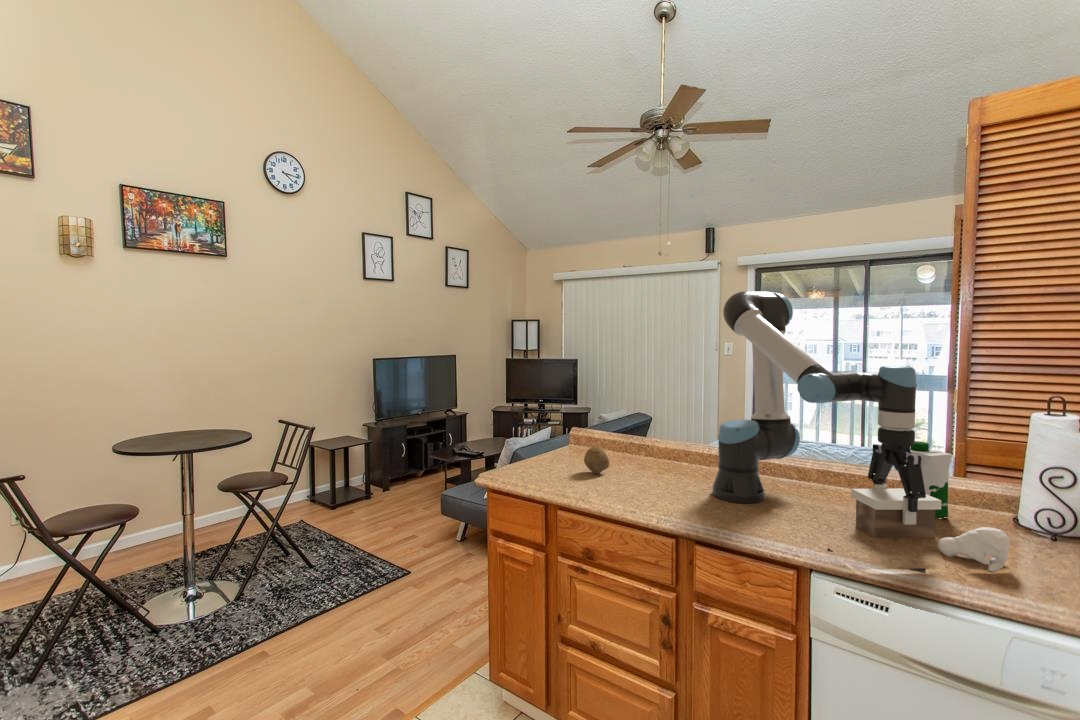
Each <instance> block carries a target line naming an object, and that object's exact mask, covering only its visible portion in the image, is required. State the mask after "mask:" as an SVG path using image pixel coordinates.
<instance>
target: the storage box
mask: <svg viewBox="0 0 1080 720" xmlns="http://www.w3.org/2000/svg"><path fill="white" fill-rule="evenodd" d="M855 500H856V499H855ZM855 503H856V505H855V508H856V509H855V510H856V511H855V526H856V527H858V528H859V529H861V530H863V531H864V532H866V533H867V534H869V535H871V536H873V537H874V538H876V539H912V538H913V539H919V538H920V539H923V538H924V539H925V538H926V539H927V538H928V539H932V538H934V539H935V536H936V535H935V529H936V528H935V527H936V525H935V524H936V518H935V509H932V510H917V512H916V524H911V525H905V524H903V510H876V509H874V508H872V507H870V506H868V505H866V504H864V503H862V502H860V501H858V500H856V501H855Z"/></svg>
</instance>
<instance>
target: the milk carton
mask: <svg viewBox="0 0 1080 720" xmlns="http://www.w3.org/2000/svg"><path fill="white" fill-rule="evenodd" d="M929 446H930V444H929V443H928V442H926V441H919V440H918V441H916V440H915V444H914V445H912V446H911V447H910V451H911V454H913V455H920V456H921V470H922V476H923V482H924V488H925V493H926V494H927V495H929V496H932V497H934V498H937V499H939V500H941V509H935V519H938V518H944V517H948V518H949V474H950V473H949V471H950V465H951V460H952V456H953V453H947V452H945V451H941V450H937V449H930V447H929Z"/></svg>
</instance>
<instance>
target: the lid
mask: <svg viewBox="0 0 1080 720" xmlns="http://www.w3.org/2000/svg"><path fill="white" fill-rule="evenodd" d="M850 491H851V498H852V499H855V500H858V501H860V502H862V503H864V504H866V505H868V506H870V507H872V508H874V509H876V510H903V496H906V494H905V491H904V488H903V487H902V488H899V487H898V488H897V487H896V488H887V489H874V488H851V490H850ZM919 493H920V492H919ZM932 509H941V500H939V499H937V498H934V497H932V496H929V495H927V494H926V497H925V498H919V499H918V510H932Z"/></svg>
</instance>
